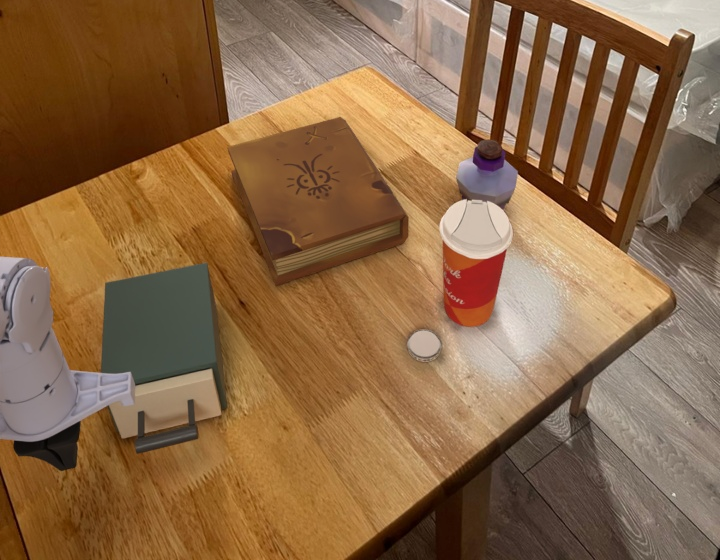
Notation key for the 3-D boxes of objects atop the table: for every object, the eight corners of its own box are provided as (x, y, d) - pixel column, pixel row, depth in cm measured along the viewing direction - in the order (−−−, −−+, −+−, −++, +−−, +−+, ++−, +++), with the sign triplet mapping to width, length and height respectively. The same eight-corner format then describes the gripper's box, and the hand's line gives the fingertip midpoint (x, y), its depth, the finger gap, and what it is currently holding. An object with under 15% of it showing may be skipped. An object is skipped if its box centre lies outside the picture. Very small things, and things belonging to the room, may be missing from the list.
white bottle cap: (443, 335, 87) (443, 332, 86) (438, 364, 84) (438, 361, 83) (410, 329, 88) (410, 325, 87) (404, 357, 84) (404, 354, 84)
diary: (408, 242, 99) (408, 212, 96) (275, 286, 93) (271, 255, 90) (346, 143, 116) (345, 114, 113) (232, 174, 111) (227, 145, 108)
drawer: (225, 452, 75) (216, 416, 71) (120, 478, 73) (105, 442, 69) (212, 320, 88) (204, 283, 84) (124, 339, 86) (111, 302, 82)
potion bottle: (525, 206, 104) (534, 141, 97) (495, 242, 99) (503, 176, 92) (472, 181, 108) (478, 117, 102) (441, 215, 103) (444, 150, 96)
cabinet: (227, 408, 80) (216, 361, 75) (118, 434, 78) (99, 387, 73) (216, 308, 91) (207, 262, 86) (120, 329, 89) (105, 282, 84)
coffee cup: (436, 277, 94) (441, 192, 85) (501, 283, 93) (513, 198, 84) (432, 332, 87) (437, 246, 79) (502, 340, 86) (515, 253, 78)
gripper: (120, 310, 63) (150, 400, 71) (-61, 348, 60) (-9, 436, 68) (118, 383, 57) (151, 471, 65) (-81, 428, 55) (-23, 514, 62)
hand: (69, 458), depth 66 cm, fingers closed
